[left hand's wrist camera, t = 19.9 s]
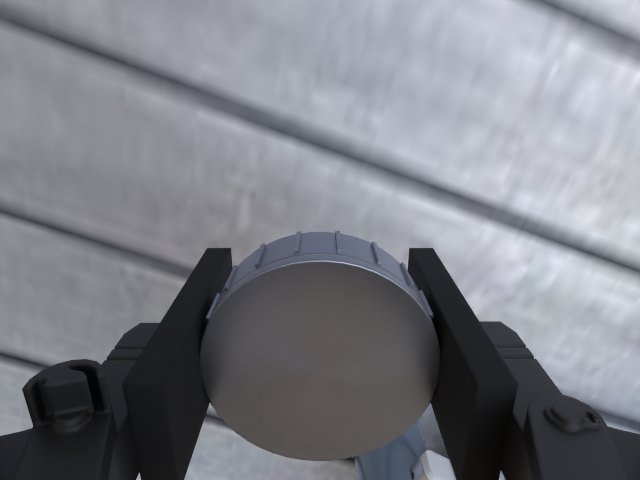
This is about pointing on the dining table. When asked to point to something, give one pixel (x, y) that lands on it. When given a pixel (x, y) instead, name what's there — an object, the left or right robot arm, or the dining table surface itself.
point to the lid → (320, 348)
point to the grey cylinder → (393, 457)
